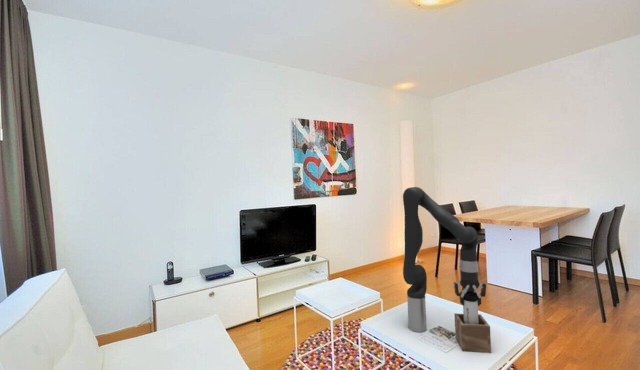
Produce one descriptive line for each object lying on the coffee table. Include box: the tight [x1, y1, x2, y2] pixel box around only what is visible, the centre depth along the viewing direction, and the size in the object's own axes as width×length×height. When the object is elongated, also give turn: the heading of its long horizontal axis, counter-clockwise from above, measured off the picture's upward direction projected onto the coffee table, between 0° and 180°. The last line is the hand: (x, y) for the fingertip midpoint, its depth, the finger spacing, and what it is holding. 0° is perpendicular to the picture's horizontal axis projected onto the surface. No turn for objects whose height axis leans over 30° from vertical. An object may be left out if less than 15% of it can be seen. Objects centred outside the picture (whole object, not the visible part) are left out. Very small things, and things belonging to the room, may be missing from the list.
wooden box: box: [453, 313, 492, 354], centre depth 138 cm, size 12×12×12 cm
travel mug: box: [462, 291, 479, 324], centre depth 139 cm, size 6×7×20 cm
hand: (470, 304), depth 139 cm, fingers closed on travel mug, 6 cm apart
